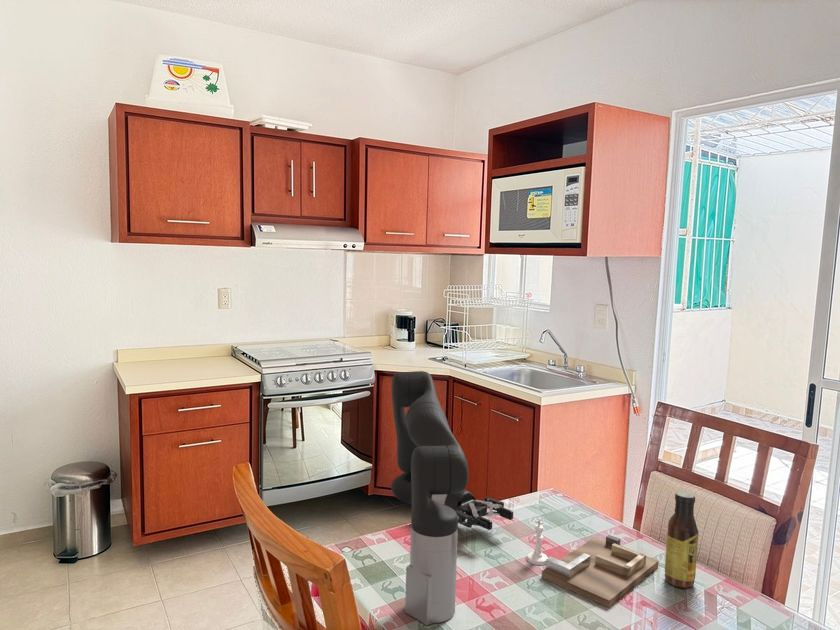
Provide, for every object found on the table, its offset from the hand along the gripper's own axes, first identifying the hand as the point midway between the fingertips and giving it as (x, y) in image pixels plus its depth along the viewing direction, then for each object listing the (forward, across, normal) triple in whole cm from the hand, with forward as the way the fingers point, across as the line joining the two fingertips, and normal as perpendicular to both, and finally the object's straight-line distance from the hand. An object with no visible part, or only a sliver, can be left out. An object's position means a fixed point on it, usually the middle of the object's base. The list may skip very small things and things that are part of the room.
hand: (502, 520), depth 147 cm
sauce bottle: (+38, +15, +6) cm, 41 cm away
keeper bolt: (+18, 0, +4) cm, 19 cm away
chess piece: (+10, 0, +6) cm, 12 cm away
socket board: (+24, +6, +6) cm, 25 cm away
